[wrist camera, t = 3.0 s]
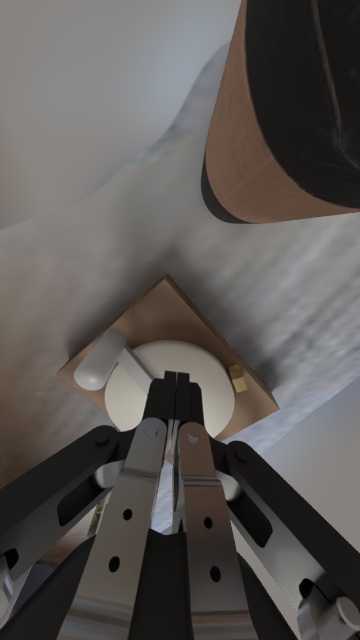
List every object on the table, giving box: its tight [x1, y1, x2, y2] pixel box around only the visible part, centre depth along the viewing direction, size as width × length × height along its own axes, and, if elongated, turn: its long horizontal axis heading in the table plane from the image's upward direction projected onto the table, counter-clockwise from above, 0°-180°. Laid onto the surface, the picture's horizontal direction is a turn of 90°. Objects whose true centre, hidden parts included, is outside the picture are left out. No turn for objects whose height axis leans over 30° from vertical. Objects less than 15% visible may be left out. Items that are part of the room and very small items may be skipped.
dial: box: [74, 330, 235, 450], centre depth 22 cm, size 19×15×8 cm
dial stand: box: [57, 274, 280, 465], centre depth 27 cm, size 18×22×5 cm
